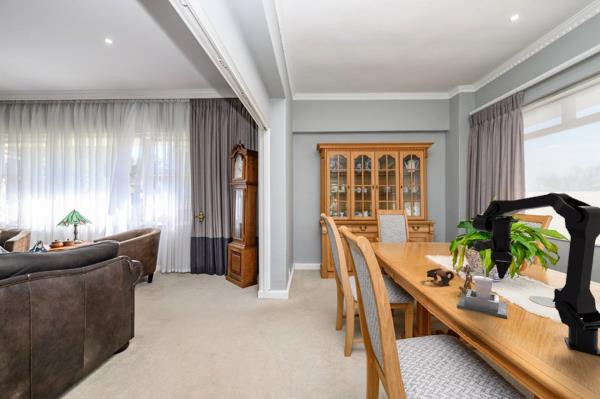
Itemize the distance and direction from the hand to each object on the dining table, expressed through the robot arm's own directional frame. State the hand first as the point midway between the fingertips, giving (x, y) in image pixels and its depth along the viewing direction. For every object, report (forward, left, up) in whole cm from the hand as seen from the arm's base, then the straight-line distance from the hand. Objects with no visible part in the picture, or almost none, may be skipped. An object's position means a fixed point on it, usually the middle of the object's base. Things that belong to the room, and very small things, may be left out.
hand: (500, 275), depth 99 cm
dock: (0, +6, -13) cm, 14 cm away
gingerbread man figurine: (+15, +12, -13) cm, 23 cm away
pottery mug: (+20, +23, -13) cm, 33 cm away
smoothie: (0, +5, -12) cm, 13 cm away
